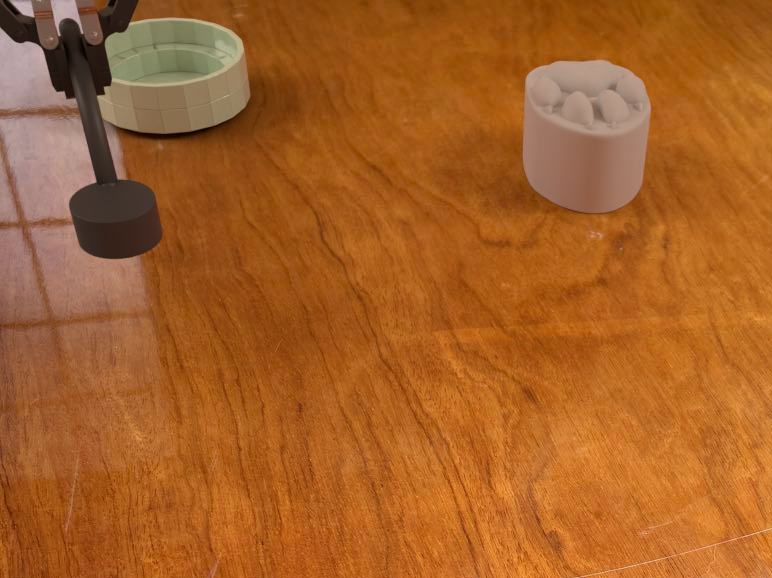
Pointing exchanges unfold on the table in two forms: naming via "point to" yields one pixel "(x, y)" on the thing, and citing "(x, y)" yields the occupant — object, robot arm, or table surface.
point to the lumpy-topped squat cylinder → (585, 134)
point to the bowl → (174, 76)
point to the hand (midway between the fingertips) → (84, 91)
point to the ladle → (105, 176)
